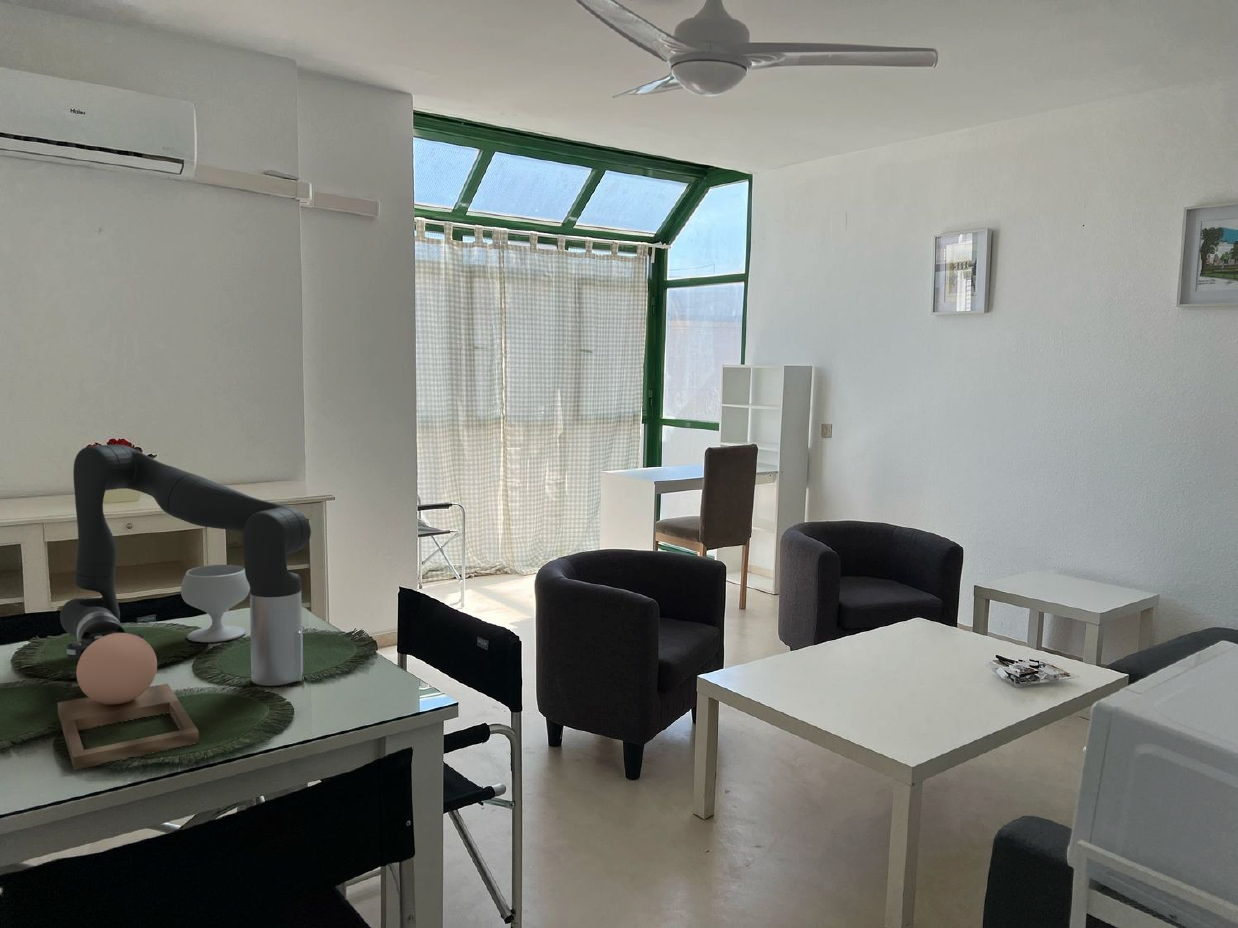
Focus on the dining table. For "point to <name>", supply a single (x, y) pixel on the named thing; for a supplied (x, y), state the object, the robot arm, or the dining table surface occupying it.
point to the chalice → (215, 598)
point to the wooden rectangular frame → (97, 714)
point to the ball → (116, 668)
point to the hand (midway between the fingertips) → (113, 658)
